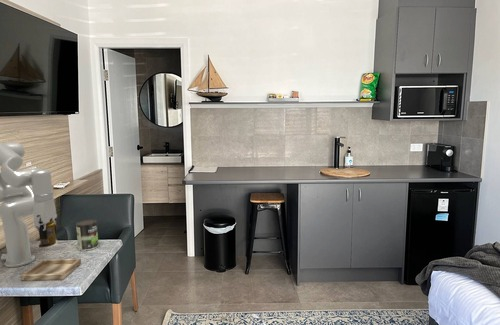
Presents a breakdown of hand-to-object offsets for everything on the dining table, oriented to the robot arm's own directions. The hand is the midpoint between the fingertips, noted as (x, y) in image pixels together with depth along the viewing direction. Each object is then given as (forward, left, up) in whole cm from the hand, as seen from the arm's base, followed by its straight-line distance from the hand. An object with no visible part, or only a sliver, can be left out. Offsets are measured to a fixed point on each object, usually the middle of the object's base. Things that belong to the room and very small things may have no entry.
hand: (48, 235), depth 155 cm
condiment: (0, -1, -4) cm, 4 cm away
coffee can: (+3, +29, -18) cm, 34 cm away
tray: (0, 0, -17) cm, 17 cm away
